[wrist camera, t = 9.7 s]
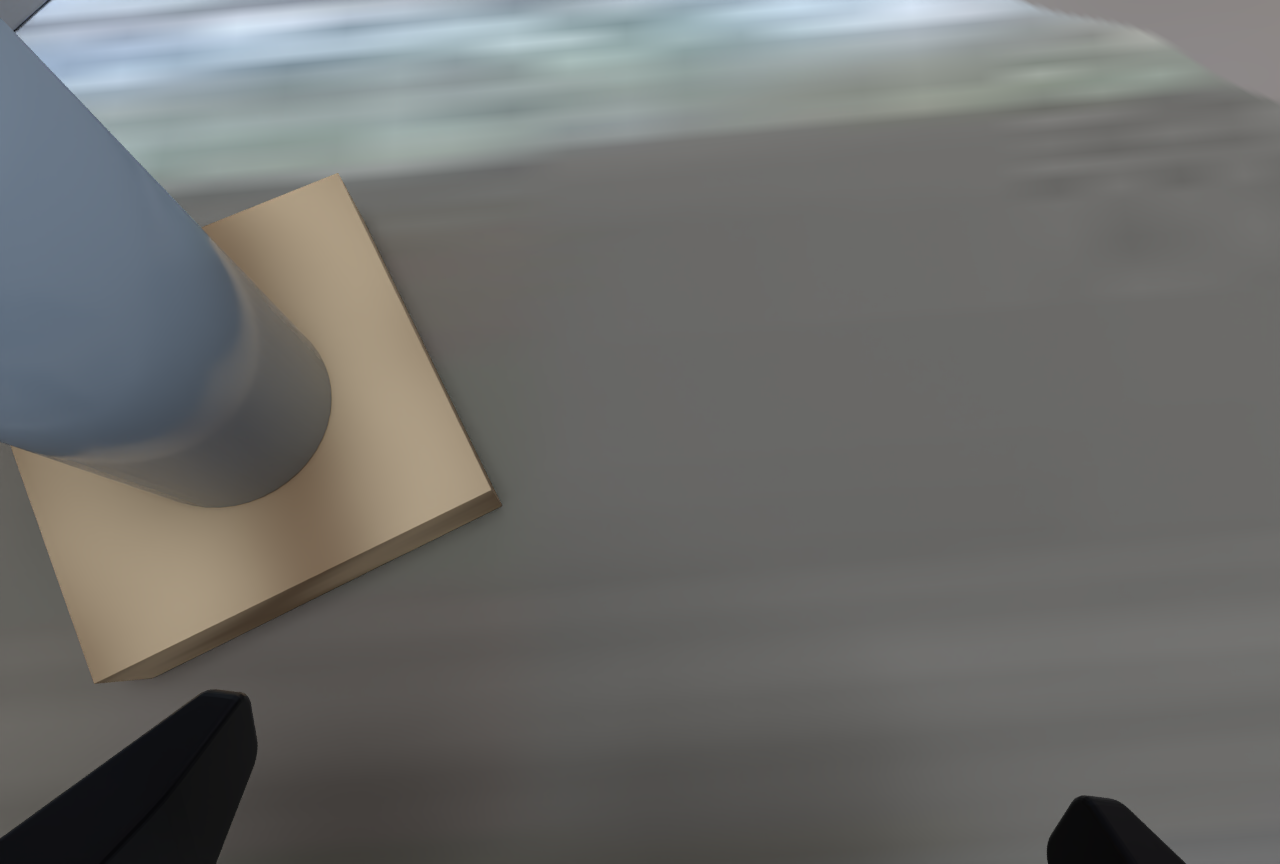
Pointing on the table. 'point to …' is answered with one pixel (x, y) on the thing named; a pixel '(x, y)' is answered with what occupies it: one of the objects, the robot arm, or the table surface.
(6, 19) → the coffee box
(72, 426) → the canister
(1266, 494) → the table surface
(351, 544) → the oak base block
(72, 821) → the robot arm
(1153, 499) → the table surface
